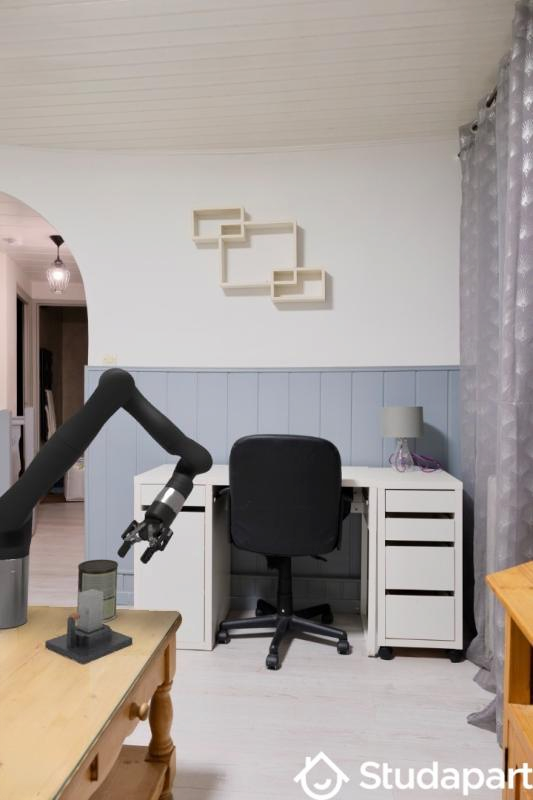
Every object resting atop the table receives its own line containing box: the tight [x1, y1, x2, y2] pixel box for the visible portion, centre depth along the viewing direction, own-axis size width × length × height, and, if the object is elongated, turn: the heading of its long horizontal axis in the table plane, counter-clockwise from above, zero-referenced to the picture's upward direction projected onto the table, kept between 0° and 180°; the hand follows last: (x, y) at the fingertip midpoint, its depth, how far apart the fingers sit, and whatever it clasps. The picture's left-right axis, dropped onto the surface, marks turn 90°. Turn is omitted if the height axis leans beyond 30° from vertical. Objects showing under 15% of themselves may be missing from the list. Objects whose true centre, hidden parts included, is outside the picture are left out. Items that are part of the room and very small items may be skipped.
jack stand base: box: [44, 612, 133, 665], centre depth 135 cm, size 14×14×8 cm
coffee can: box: [76, 559, 119, 624], centre depth 154 cm, size 10×10×14 cm
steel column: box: [77, 589, 103, 634], centre depth 135 cm, size 4×4×11 cm
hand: (131, 559), depth 145 cm, fingers open, 8 cm apart
